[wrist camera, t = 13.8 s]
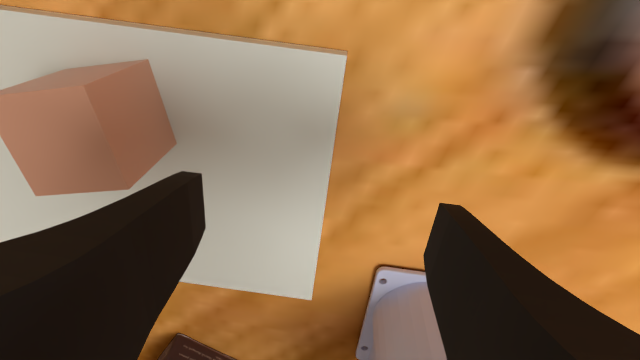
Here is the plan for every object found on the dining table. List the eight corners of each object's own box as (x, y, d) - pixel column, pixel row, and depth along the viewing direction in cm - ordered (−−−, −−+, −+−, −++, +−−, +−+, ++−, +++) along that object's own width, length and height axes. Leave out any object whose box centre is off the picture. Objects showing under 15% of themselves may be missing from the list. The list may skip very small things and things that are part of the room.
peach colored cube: (147, 59, 17) (83, 85, 13) (176, 143, 19) (128, 189, 15) (65, 69, 18) (-23, 97, 14) (101, 150, 20) (35, 196, 16)
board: (313, 286, 25) (305, 346, 21) (6, 244, 26) (-59, 294, 22) (347, 50, 18) (345, 73, 13) (-97, -9, 18) (-231, -4, 14)
